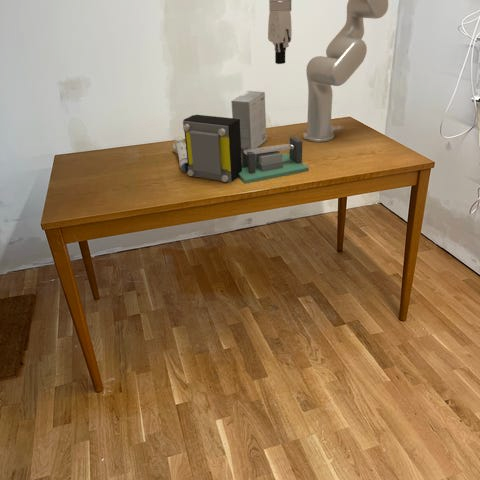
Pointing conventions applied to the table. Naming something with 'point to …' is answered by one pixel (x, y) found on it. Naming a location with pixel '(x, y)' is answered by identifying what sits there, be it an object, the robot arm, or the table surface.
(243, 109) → the hard drive box
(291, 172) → the board
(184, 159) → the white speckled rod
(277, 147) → the grey long flat bar
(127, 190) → the table surface
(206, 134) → the electrical component
